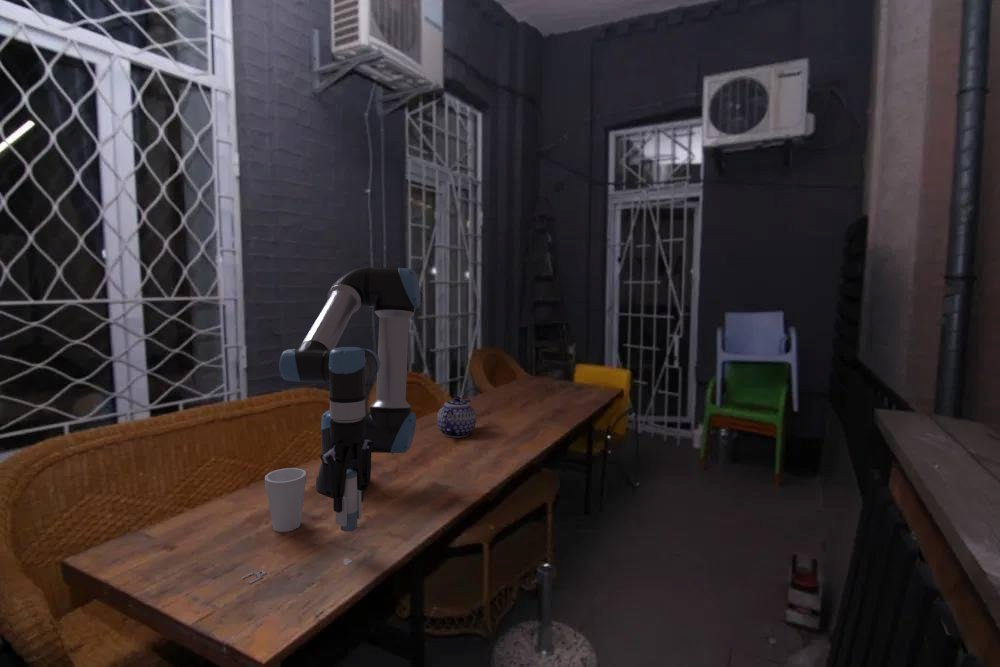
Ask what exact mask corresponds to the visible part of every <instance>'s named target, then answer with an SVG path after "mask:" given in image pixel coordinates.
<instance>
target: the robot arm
mask: <svg viewBox="0 0 1000 667" xmlns="http://www.w3.org/2000/svg"><path fill="white" fill-rule="evenodd" d="M419 281H420V280H419V278H418V275H417V273H416V271H415V270H414V269H411V268H407V267H406V268H404V267H369V266H365V267H360V268H356V269H353V270H351V271H349V272H348V273H346V274H344V275H343V276H340V278H339V279H337V280H336V281H335V282H334V283H333V284H332V286H331V287H330V289H329V290H328V292H327V301H326V302H325V304H324V306H323V307H322V309H321V311H320V312H319V315H318V316H317V318H316V319H315V321H314V323H312V325H311V327H310V328H309V331H308V333H307V334H306V335H305V337H304V339H303V341H301V343H300V345H299V347H298V348H291V349H290V348H289V349H286V350H284V351H283V352H282V353H281V355H280V357H279V358H280V359H279V362H278V366H279V368H278V369H279V373H280V376H281V377H282V379H283V380H285V381H290V382H291V381H292V382H299V383H305V382H306V383H329V385H328V386H329V387H328V388H329V409H328V410H326V411H324V412H323V414H322V415H321V422H320V425H321V426H320V433H321V436H320V439H321V442H320V443H321V454H320V456H319V458H320V459H321V464H320V466H319V472H318V475H317V476H316V479H315V489H316V490H317V492H318V493H321V494H324V495H325V496H326V497H329V498H331V499H332V500H333V512H335V524H336V525H338V526H340V527H341V526H343V527H345V526H347V497H345V496H344V489H345V481H346V474H347V470H348V469H353V470H356V471H357V520H361V519H362V513H363V512H362V503H363V501H364V491H366V490H367V488H368V487H369V486H370V483H371V479H372V478H371V477H372V476H371V475H372V474H371V473H372V454H373V453H375V454H376V453H379V454H380V453H381V454H391V455H393V454H404V453H406V452H408V451H409V450H410V448H411V446H412V444H413V440H414V437H415V432H416V426H417V415H416V413H415V412H413V411H412V410H411V405H410V403H408V402H407V399H406V398H407V376H408V374H407V373H408V352H409V328H410V327H409V325H410V322H409V321H410V319H411V318H412V317H413V316H415V309H418V308H420V307H421V301H422V300H421V299H422V297H421V286H420V282H419ZM363 307H369V308H370V307H373V308H374V314H375V315H376V316H377V317H378V318H379V321H378V324H379V325H378V339H377V340H378V344H377V353H376V352H375V351H373V349H367V348H362V347H359V346H358V347H356V346H340V347H336V346H337V344H339V343H338V342H339V340H340V339H341V338H342V335H343V332H344V331H345V330H346V327H347V325H348V322H349V321H350V320H351V317H352V315H353V314H355V313H357V312H358V311H359V309H361V308H363ZM375 377H376V386H375V387H376V388H375V390H376V391H375V400H374V401H373V402H372V404H370V405H369V411H366V383H368V382H369V381H371V380H373V379H374V378H375Z"/></svg>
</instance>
